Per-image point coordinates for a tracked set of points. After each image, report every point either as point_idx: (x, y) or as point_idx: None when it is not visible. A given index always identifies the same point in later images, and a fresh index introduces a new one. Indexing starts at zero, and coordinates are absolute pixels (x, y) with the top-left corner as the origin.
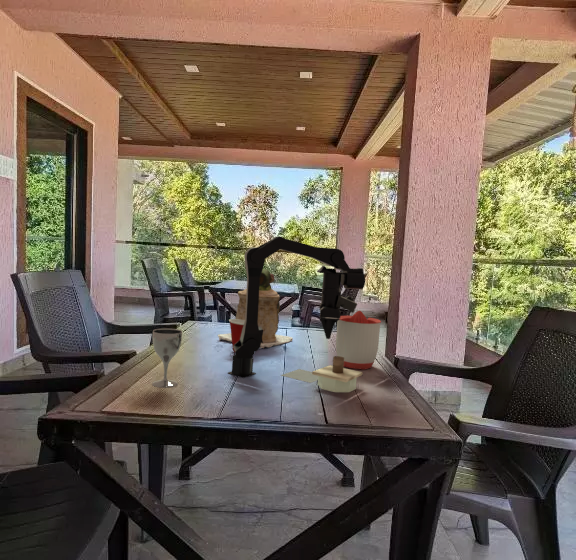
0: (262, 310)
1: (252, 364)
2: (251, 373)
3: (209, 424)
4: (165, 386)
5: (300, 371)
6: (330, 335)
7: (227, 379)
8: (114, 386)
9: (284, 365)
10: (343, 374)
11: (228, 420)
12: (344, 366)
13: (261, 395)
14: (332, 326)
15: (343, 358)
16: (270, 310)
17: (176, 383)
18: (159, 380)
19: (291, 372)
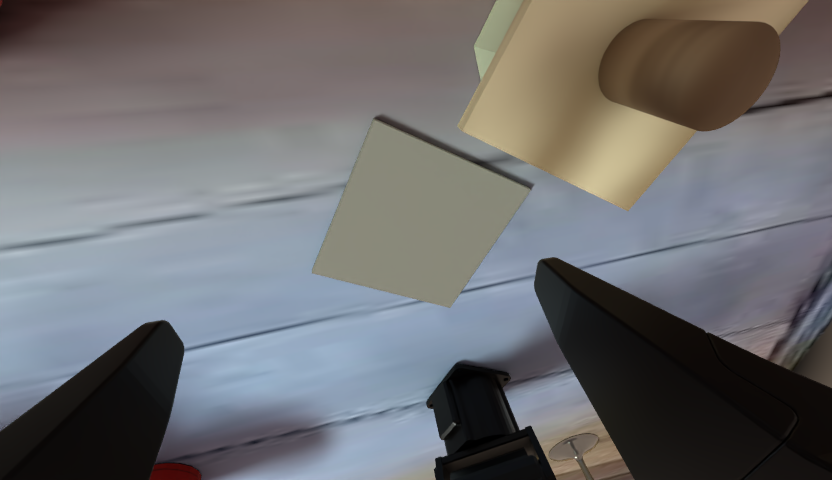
0: None
1: (458, 403)
2: (466, 374)
3: (820, 319)
4: (596, 440)
5: (356, 259)
6: (596, 279)
7: (521, 393)
8: (594, 476)
9: (265, 332)
10: (698, 14)
11: (814, 301)
12: (1, 2)
13: (660, 295)
14: (779, 381)
15: (775, 30)
16: None
17: (574, 438)
18: (563, 459)
19: (391, 286)
